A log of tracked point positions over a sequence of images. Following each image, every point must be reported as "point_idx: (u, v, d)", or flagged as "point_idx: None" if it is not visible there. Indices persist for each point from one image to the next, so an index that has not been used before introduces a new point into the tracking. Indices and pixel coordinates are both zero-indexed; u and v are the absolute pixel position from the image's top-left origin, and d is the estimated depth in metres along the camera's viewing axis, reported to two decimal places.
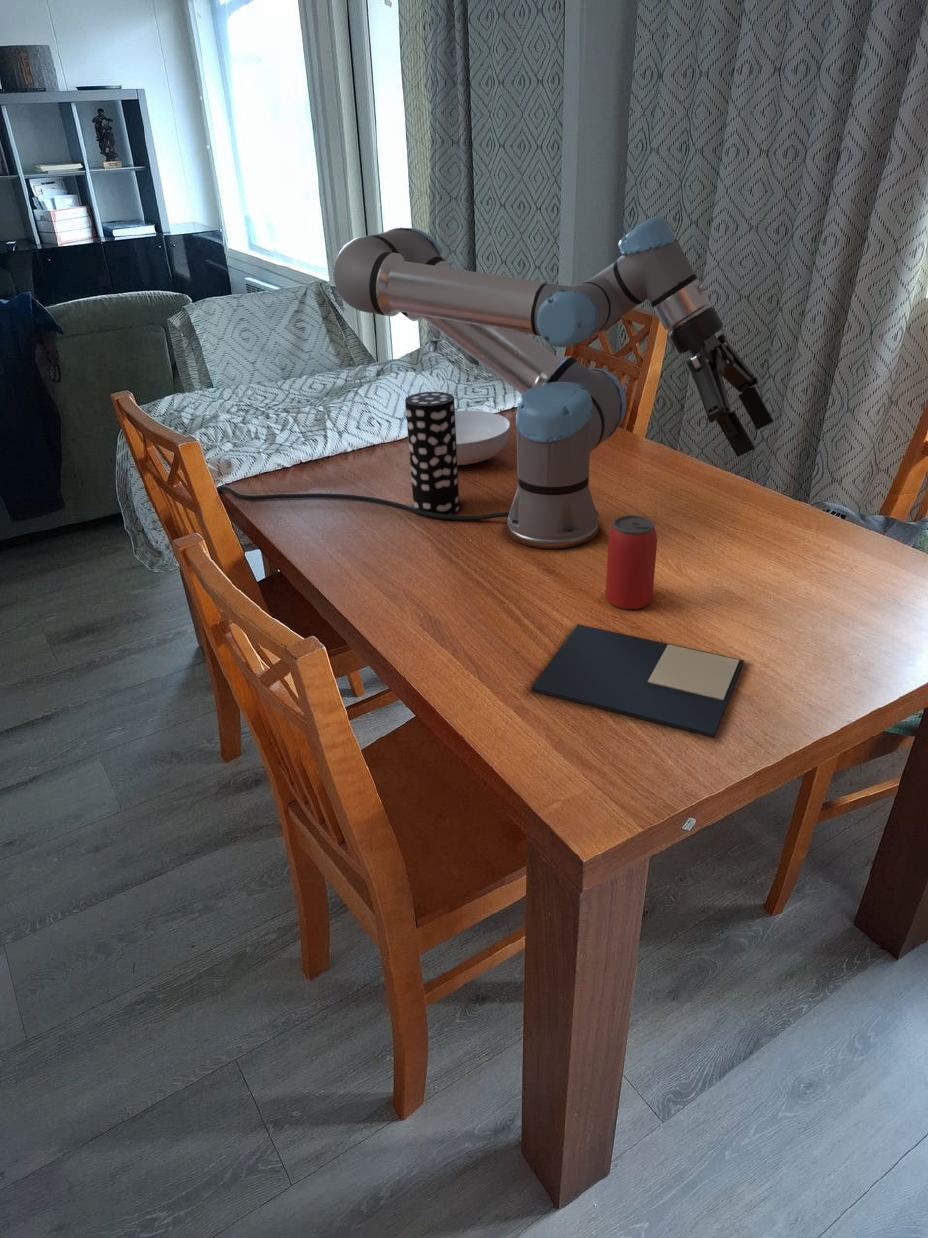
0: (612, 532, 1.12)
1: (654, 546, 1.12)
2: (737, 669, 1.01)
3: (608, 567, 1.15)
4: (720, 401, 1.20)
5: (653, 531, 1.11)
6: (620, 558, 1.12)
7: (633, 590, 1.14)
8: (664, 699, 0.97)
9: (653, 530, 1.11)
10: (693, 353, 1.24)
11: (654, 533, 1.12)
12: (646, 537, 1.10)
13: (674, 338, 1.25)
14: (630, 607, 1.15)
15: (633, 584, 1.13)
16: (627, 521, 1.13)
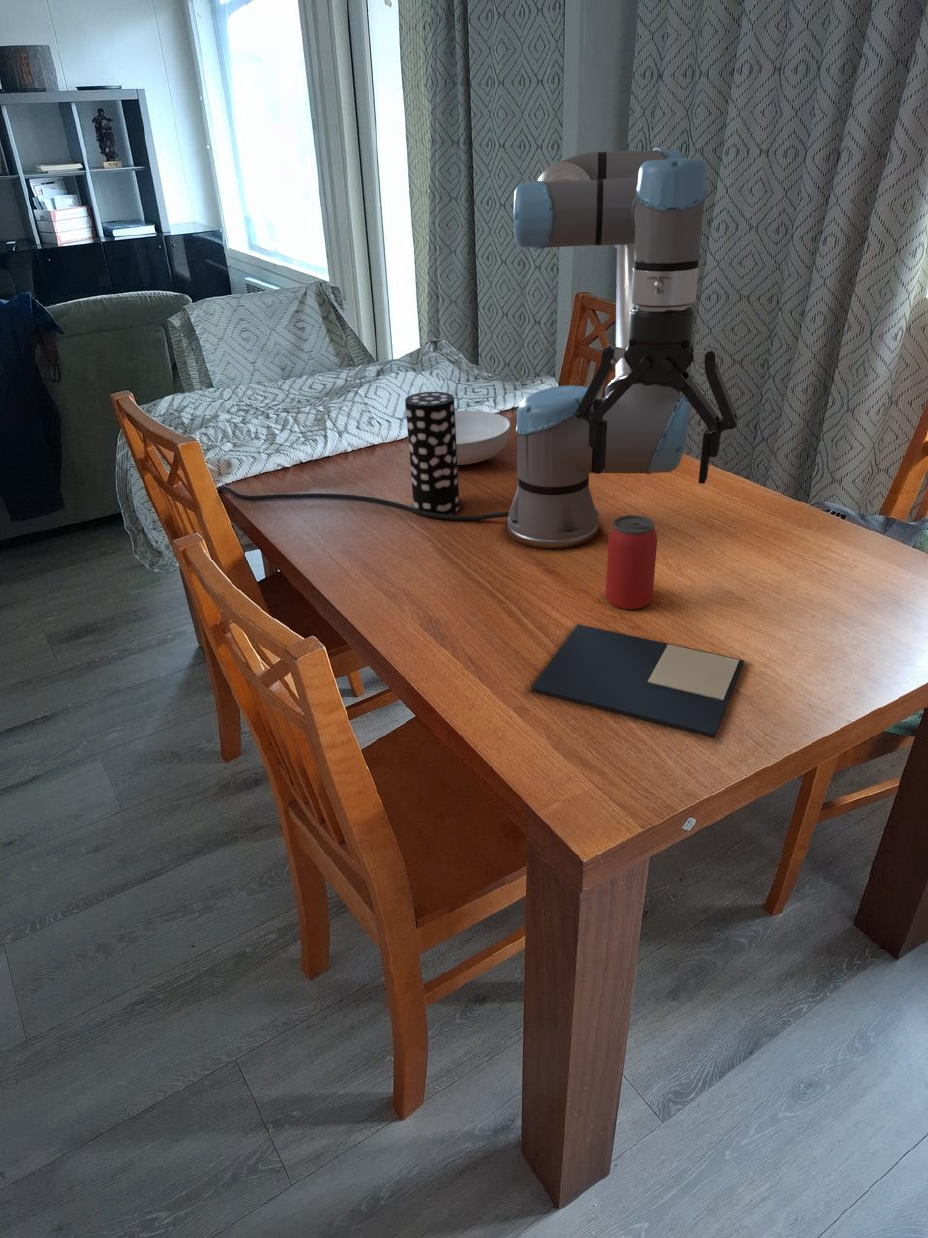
0: (612, 532, 1.12)
1: (654, 546, 1.12)
2: (737, 669, 1.01)
3: (608, 567, 1.15)
4: (583, 406, 1.07)
5: (653, 531, 1.11)
6: (620, 558, 1.12)
7: (633, 590, 1.14)
8: (664, 699, 0.97)
9: (653, 530, 1.11)
10: None
11: (654, 533, 1.12)
12: (646, 537, 1.10)
13: None
14: (630, 607, 1.15)
15: (633, 584, 1.13)
16: (627, 521, 1.13)
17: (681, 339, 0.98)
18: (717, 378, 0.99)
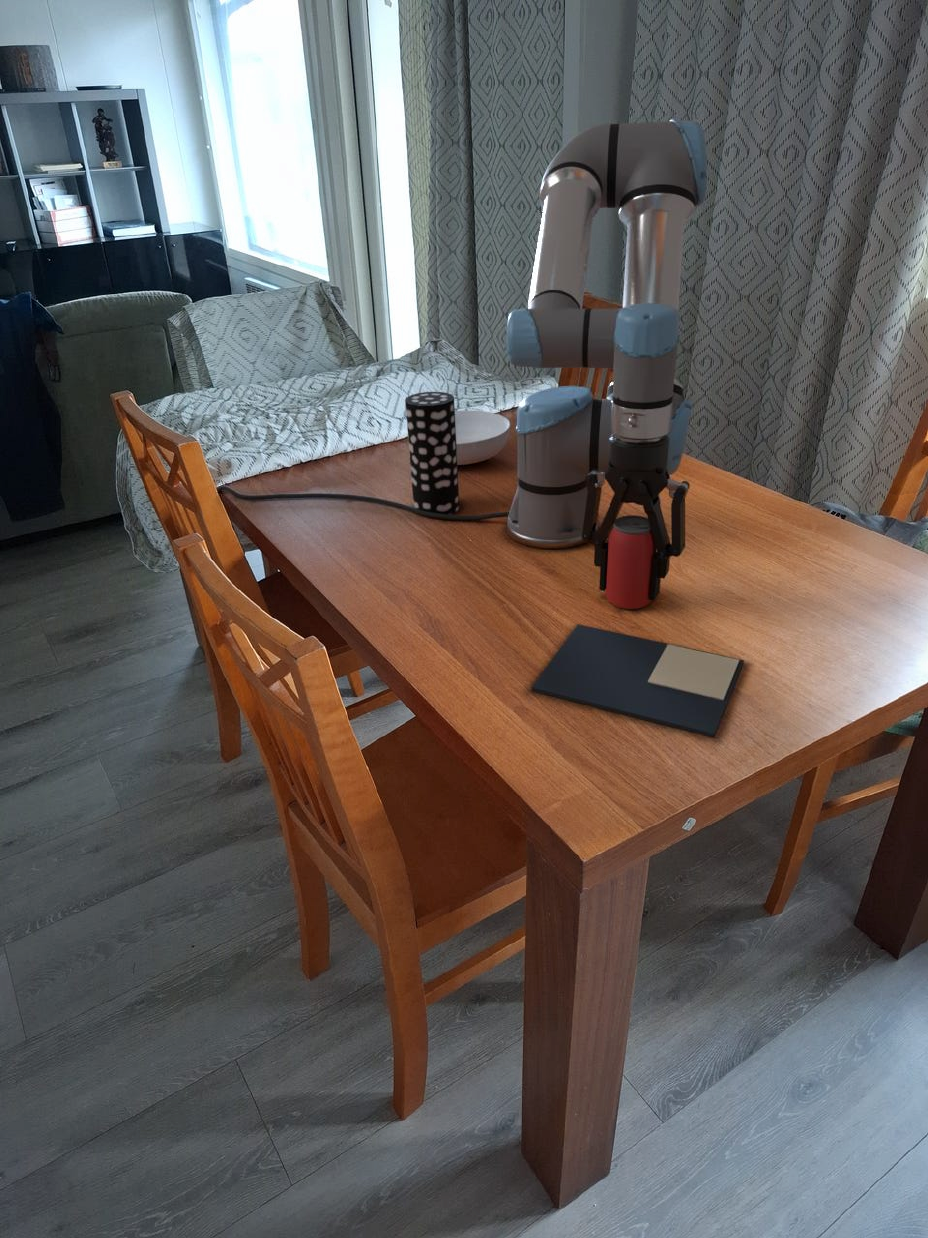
0: (612, 532, 1.12)
1: (654, 546, 1.12)
2: (737, 669, 1.01)
3: (608, 567, 1.15)
4: (586, 529, 1.15)
5: None
6: (620, 558, 1.12)
7: (633, 590, 1.14)
8: (664, 699, 0.97)
9: None
10: None
11: None
12: (646, 537, 1.10)
13: None
14: (630, 607, 1.15)
15: (633, 584, 1.13)
16: (627, 521, 1.13)
17: (654, 467, 1.04)
18: (679, 511, 1.07)
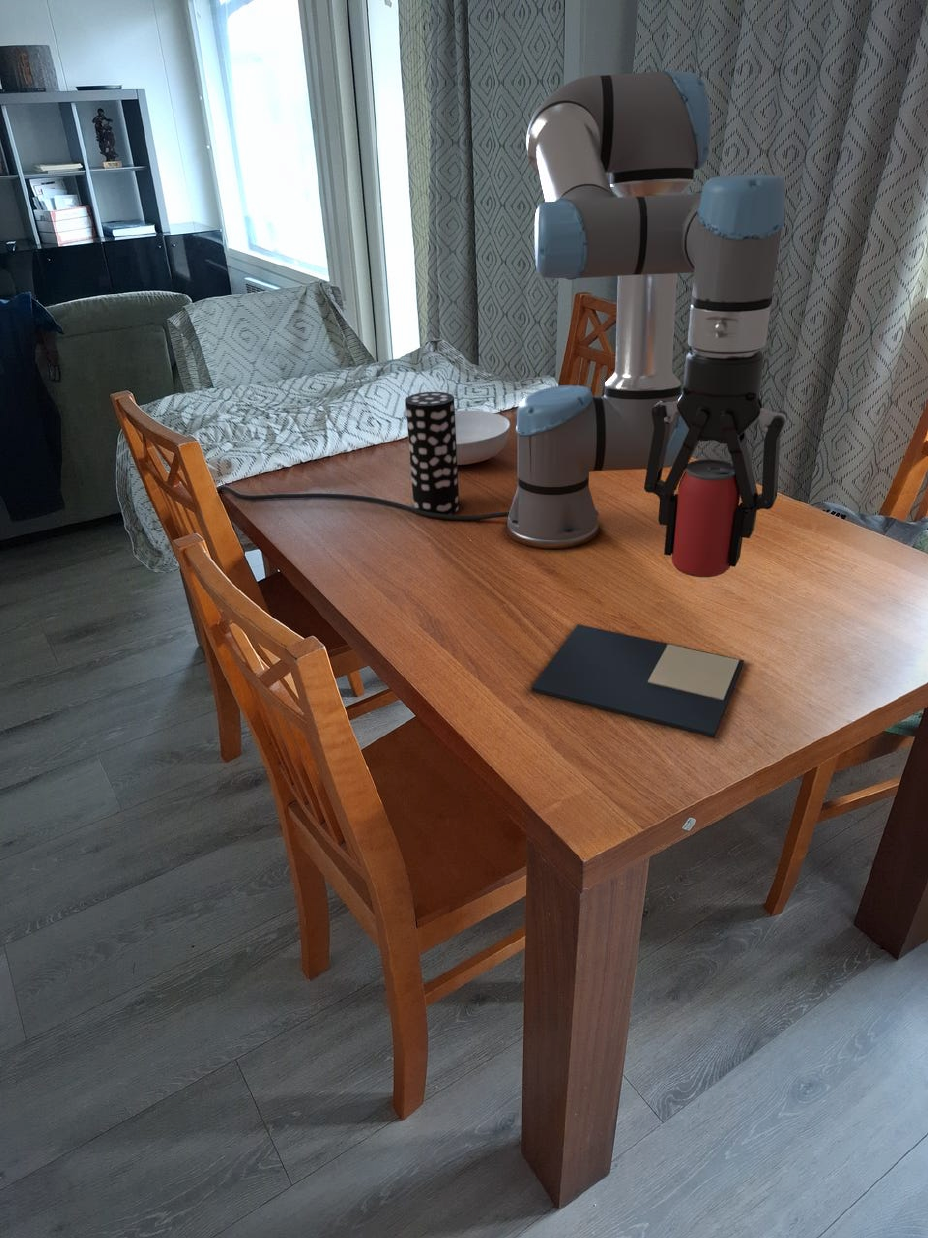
0: (684, 479, 0.89)
1: (738, 496, 0.89)
2: (737, 669, 1.01)
3: (677, 524, 0.92)
4: (650, 477, 0.92)
5: None
6: (695, 511, 0.89)
7: (709, 552, 0.91)
8: (664, 699, 0.97)
9: None
10: None
11: None
12: (728, 485, 0.87)
13: None
14: (705, 575, 0.92)
15: (710, 545, 0.90)
16: (702, 466, 0.90)
17: (746, 391, 0.81)
18: (775, 450, 0.84)
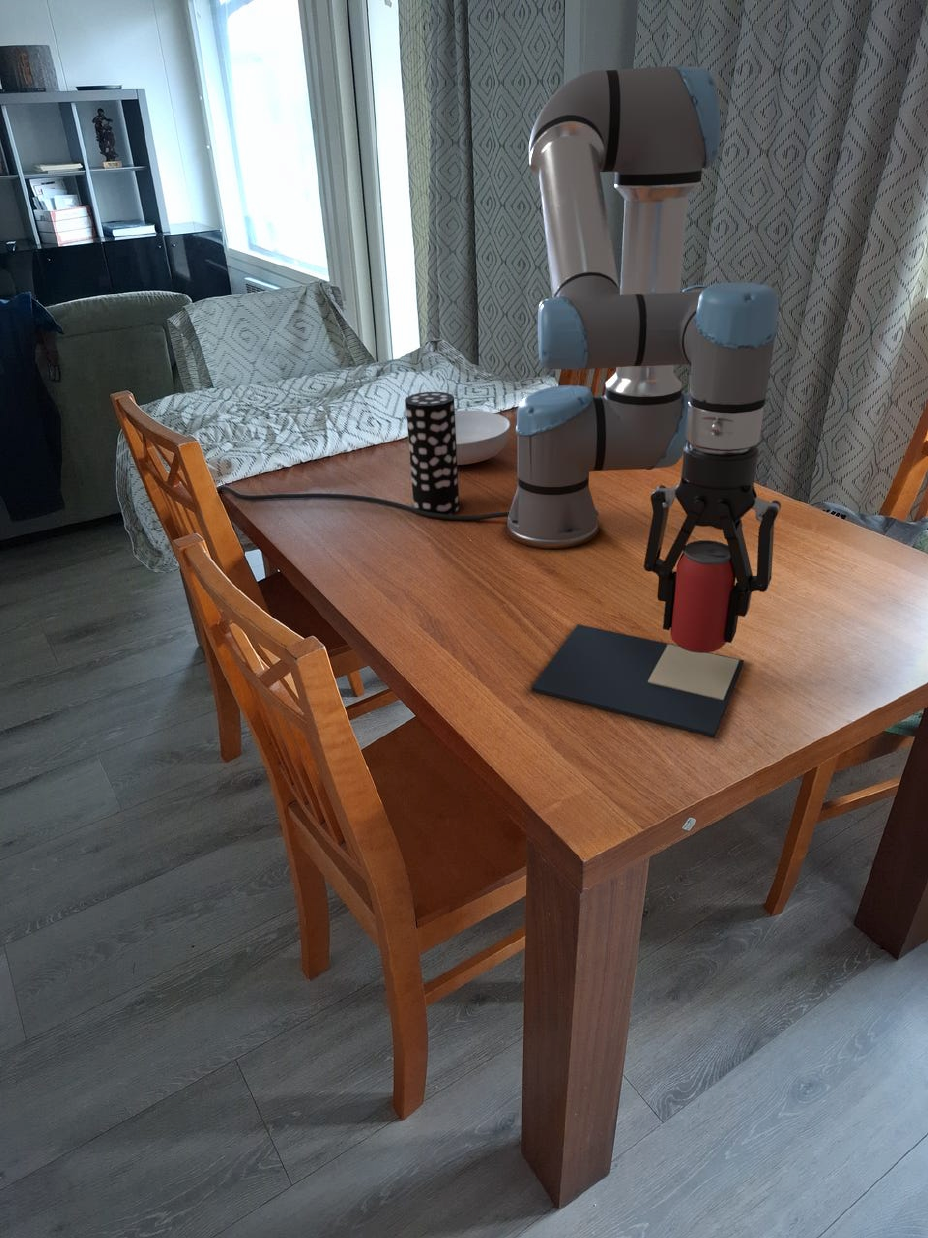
0: (682, 561, 0.93)
1: (734, 578, 0.92)
2: (737, 669, 1.01)
3: (675, 602, 0.96)
4: (650, 557, 0.95)
5: None
6: (692, 592, 0.93)
7: (706, 630, 0.94)
8: (664, 699, 0.97)
9: None
10: None
11: None
12: (725, 568, 0.91)
13: None
14: (702, 650, 0.96)
15: (707, 624, 0.94)
16: (699, 547, 0.94)
17: (741, 484, 0.85)
18: (769, 538, 0.88)
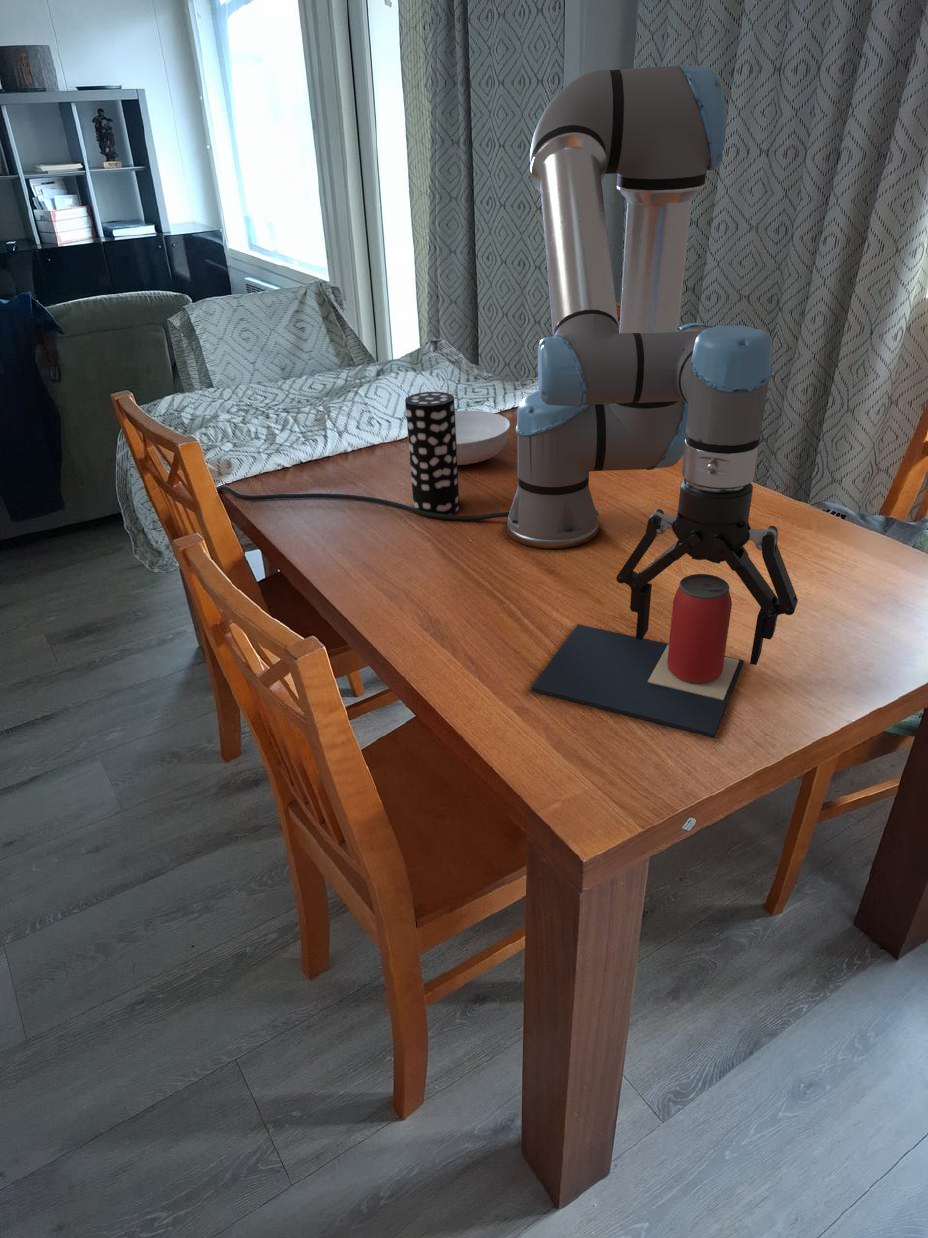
0: (679, 595, 0.95)
1: (729, 612, 0.95)
2: (737, 669, 1.01)
3: (672, 634, 0.98)
4: (625, 571, 0.98)
5: (728, 594, 0.94)
6: (688, 626, 0.95)
7: (702, 662, 0.97)
8: (664, 699, 0.97)
9: (728, 593, 0.94)
10: None
11: (729, 597, 0.94)
12: (720, 603, 0.93)
13: None
14: (698, 681, 0.98)
15: (703, 656, 0.96)
16: (696, 581, 0.96)
17: (736, 521, 0.87)
18: (775, 562, 0.89)
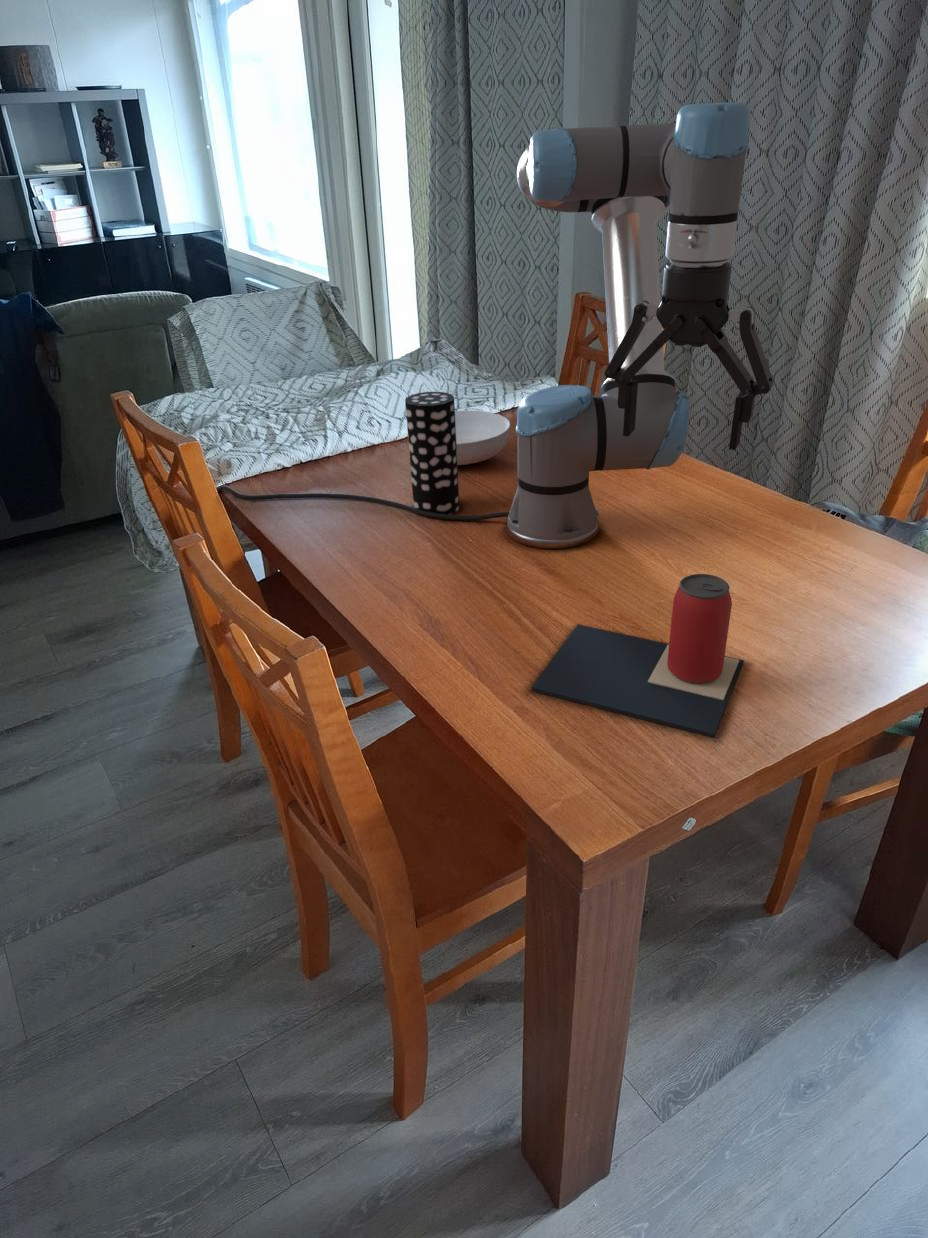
0: (679, 595, 0.95)
1: (729, 612, 0.95)
2: (737, 669, 1.01)
3: (672, 634, 0.98)
4: (613, 365, 1.04)
5: (728, 594, 0.94)
6: (688, 626, 0.95)
7: (702, 662, 0.97)
8: (664, 699, 0.97)
9: (728, 593, 0.94)
10: None
11: (729, 597, 0.94)
12: (720, 603, 0.93)
13: None
14: (698, 681, 0.98)
15: (703, 656, 0.96)
16: (696, 581, 0.96)
17: (715, 297, 0.93)
18: (752, 339, 0.95)
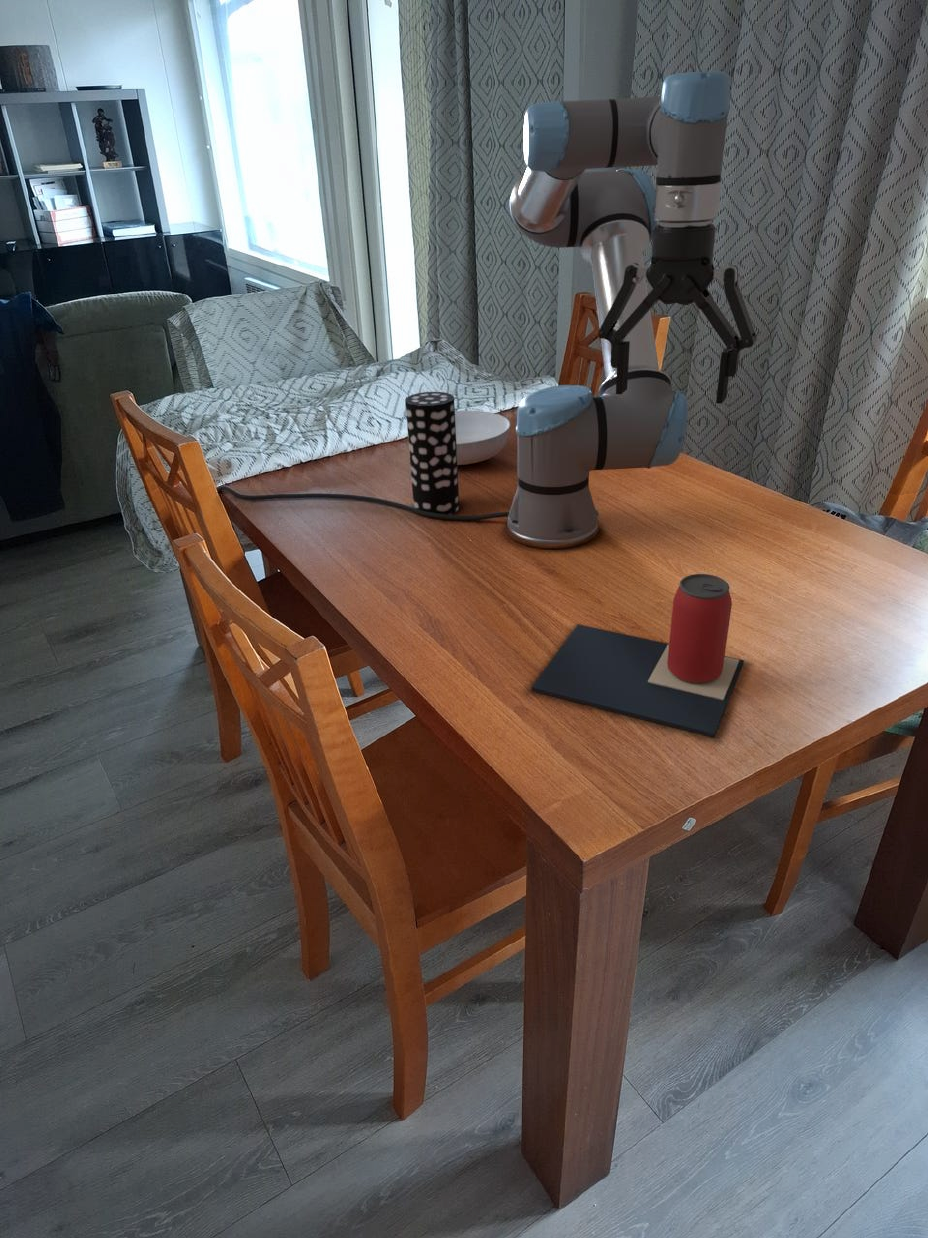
0: (679, 595, 0.95)
1: (729, 612, 0.95)
2: (737, 669, 1.01)
3: (672, 634, 0.98)
4: (606, 325, 1.10)
5: (728, 594, 0.94)
6: (688, 626, 0.95)
7: (702, 662, 0.97)
8: (664, 699, 0.97)
9: (728, 593, 0.94)
10: None
11: (729, 597, 0.94)
12: (720, 603, 0.93)
13: None
14: (698, 681, 0.98)
15: (703, 656, 0.96)
16: (696, 581, 0.96)
17: (701, 255, 1.00)
18: (736, 295, 1.01)
